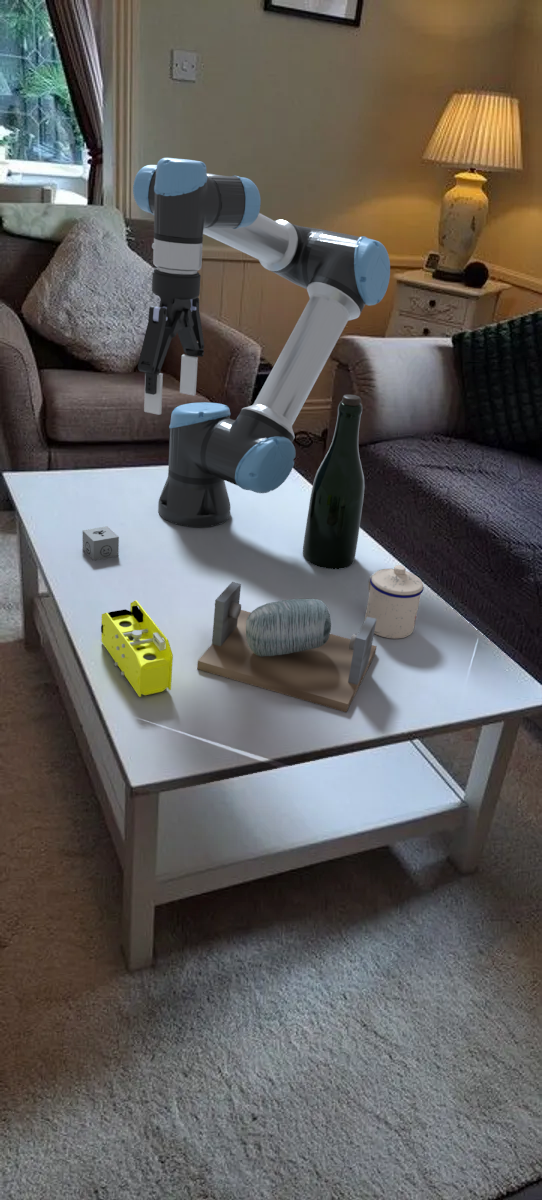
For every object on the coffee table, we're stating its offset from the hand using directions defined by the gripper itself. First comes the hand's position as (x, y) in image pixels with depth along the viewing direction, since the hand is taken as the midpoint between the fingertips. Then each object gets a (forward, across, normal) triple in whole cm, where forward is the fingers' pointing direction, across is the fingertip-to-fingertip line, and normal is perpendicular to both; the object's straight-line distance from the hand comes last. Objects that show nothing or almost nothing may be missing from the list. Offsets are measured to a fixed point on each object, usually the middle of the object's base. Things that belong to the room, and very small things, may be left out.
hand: (170, 403), depth 144 cm
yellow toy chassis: (+32, +31, +10) cm, 46 cm away
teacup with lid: (+32, -2, +42) cm, 53 cm away
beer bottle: (+32, -21, +26) cm, 46 cm away
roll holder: (+32, +18, +31) cm, 48 cm away
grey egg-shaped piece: (+30, +17, +32) cm, 47 cm away
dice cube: (+32, +1, -12) cm, 34 cm away
